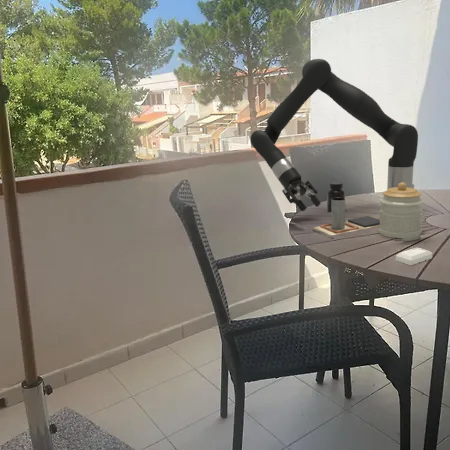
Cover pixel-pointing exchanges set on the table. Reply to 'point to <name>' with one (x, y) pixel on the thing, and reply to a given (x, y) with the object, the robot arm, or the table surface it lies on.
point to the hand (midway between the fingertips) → (311, 207)
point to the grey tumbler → (338, 213)
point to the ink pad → (365, 221)
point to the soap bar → (414, 256)
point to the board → (348, 228)
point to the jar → (401, 213)
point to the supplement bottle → (334, 193)
